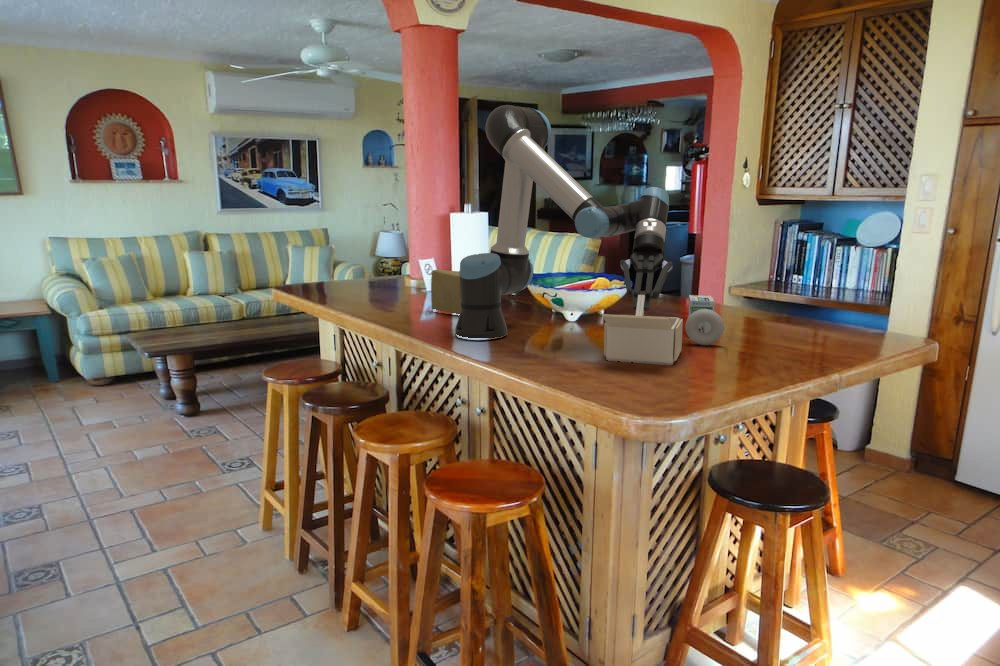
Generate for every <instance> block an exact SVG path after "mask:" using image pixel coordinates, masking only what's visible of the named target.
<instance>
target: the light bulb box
mask: <svg viewBox="0 0 1000 666" xmlns="http://www.w3.org/2000/svg"><path fill="white" fill-rule="evenodd" d="M700 309H709V310H712V311H714V312H716V301H715V299H714V298H713V295H699V294H698V295H697V294H696V295H695V294H689V295H688V317H689V316H690V315H691V314H692V313H693V312H695V311H697V310H700ZM688 317H687V318H688ZM698 329H699V331H700V332H702V333H708V332H709V331H710V330H711V325H710V323H708V322H706V321H703V322H701V323H699V325H698Z"/></svg>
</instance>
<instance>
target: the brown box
mask: <svg viewBox="0 0 1000 666" xmlns="http://www.w3.org/2000/svg"><path fill="white" fill-rule="evenodd" d="M459 271H460V270H459ZM459 271H457V270H447V269H446V270H445V269H434V270H432V271H431V278H430V279H431V280H430V281H431V283H430V293H431V295H430V296H431V299H430V300H431V310H432V309H436V310H440V311H445V312H451V313H456V314H460V312H461V295H460V275H459Z"/></svg>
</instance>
